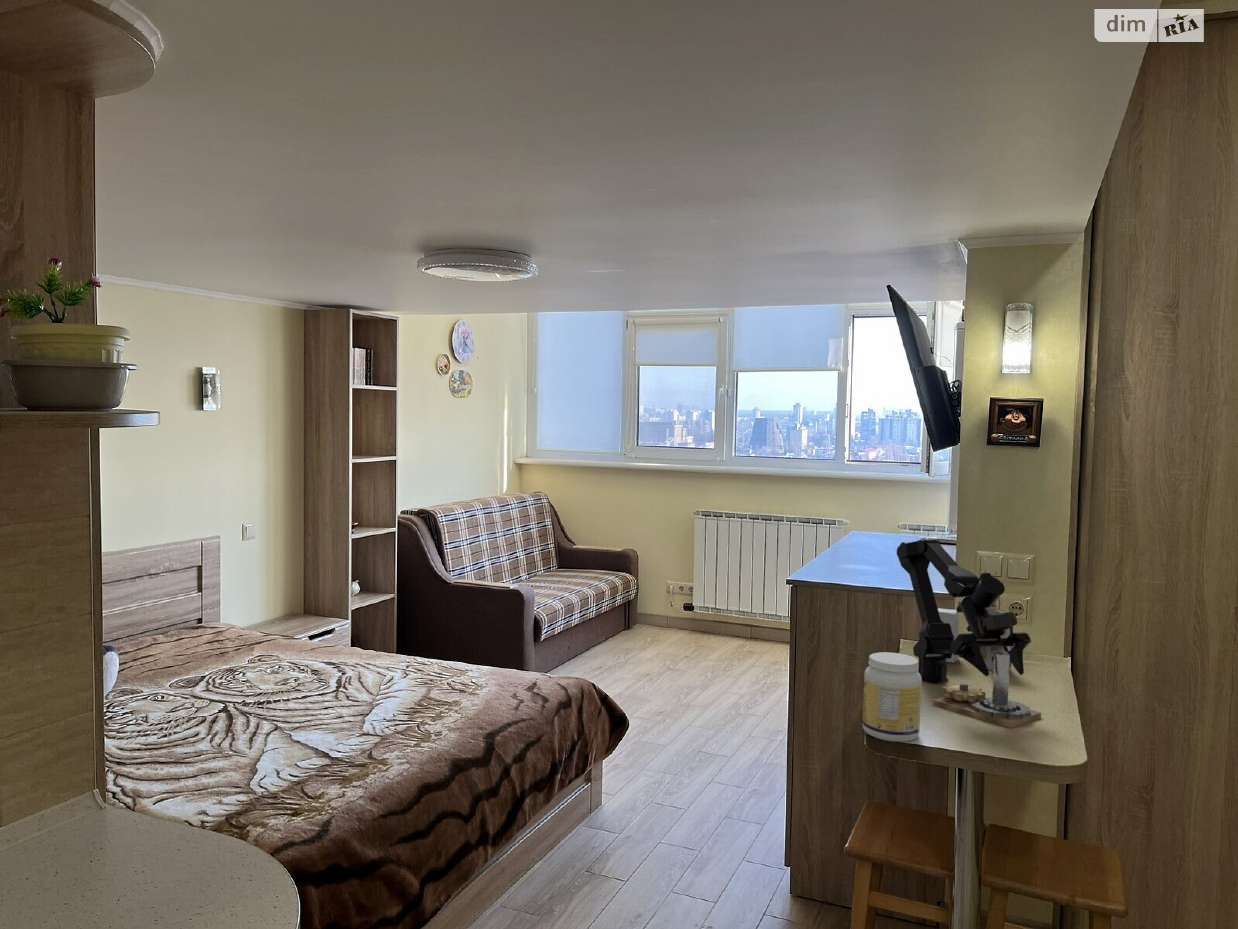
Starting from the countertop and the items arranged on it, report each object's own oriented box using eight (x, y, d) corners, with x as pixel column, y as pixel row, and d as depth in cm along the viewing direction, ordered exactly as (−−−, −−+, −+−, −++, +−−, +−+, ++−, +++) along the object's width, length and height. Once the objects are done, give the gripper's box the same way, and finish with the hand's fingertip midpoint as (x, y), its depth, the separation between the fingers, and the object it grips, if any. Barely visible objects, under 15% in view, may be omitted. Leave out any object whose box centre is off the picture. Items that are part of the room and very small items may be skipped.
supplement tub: (865, 721, 202) (868, 648, 201) (921, 729, 197) (924, 655, 196) (858, 738, 190) (861, 661, 190) (917, 747, 186) (920, 668, 185)
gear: (980, 710, 208) (982, 654, 207) (986, 703, 214) (989, 648, 213) (1013, 717, 204) (1015, 659, 203) (1018, 709, 210) (1021, 653, 209)
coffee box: (1012, 671, 248) (1014, 615, 247) (989, 670, 248) (991, 614, 247) (998, 663, 257) (1001, 608, 256) (976, 662, 257) (979, 607, 257)
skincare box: (959, 659, 259) (961, 610, 259) (953, 664, 254) (956, 613, 254) (929, 655, 264) (931, 606, 264) (924, 659, 259) (926, 609, 259)
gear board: (929, 703, 216) (930, 684, 216) (960, 694, 224) (961, 675, 224) (1010, 728, 199) (1011, 706, 199) (1040, 717, 208) (1041, 697, 207)
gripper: (959, 600, 209) (985, 658, 199) (1028, 599, 213) (1057, 656, 203) (939, 625, 217) (963, 682, 207) (1005, 624, 221) (1033, 680, 211)
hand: (1005, 674), depth 207 cm, fingers open, 9 cm apart
